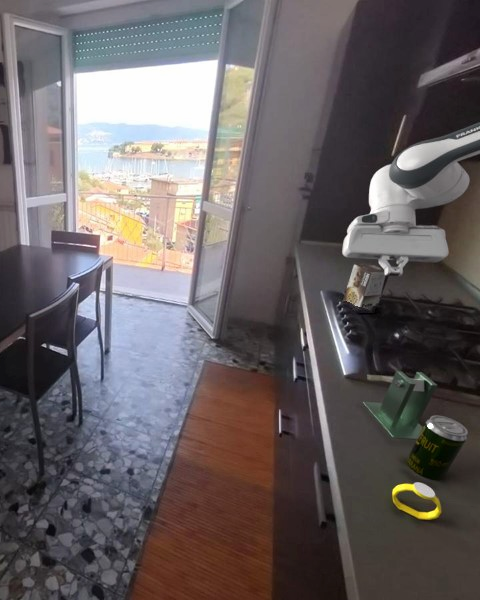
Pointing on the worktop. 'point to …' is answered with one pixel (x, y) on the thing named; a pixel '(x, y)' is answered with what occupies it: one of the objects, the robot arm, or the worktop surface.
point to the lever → (418, 382)
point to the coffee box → (365, 285)
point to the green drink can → (436, 447)
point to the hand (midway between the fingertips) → (393, 274)
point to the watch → (423, 492)
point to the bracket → (403, 406)
